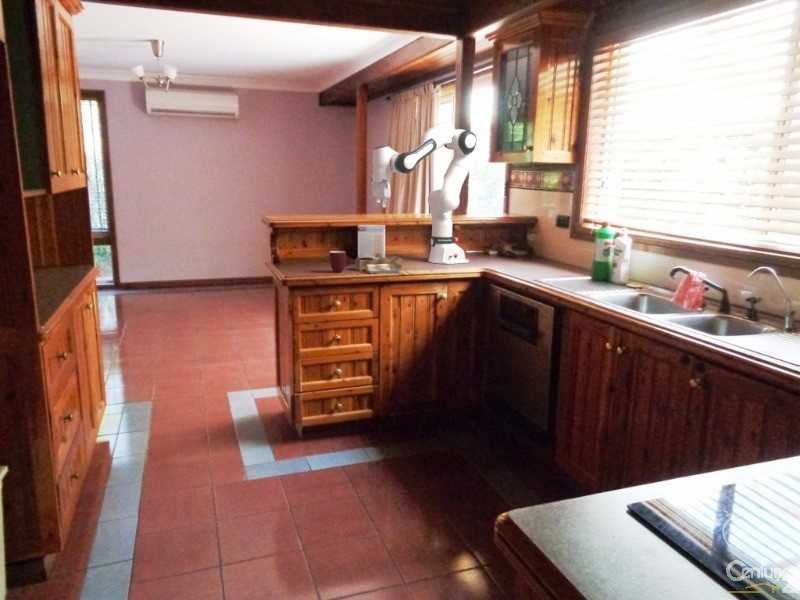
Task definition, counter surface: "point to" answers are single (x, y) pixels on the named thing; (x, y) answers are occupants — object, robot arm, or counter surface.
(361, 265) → the tan patterned box
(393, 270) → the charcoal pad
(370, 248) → the cracker box
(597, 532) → the counter surface
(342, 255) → the mug
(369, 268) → the birch bar
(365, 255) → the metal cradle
